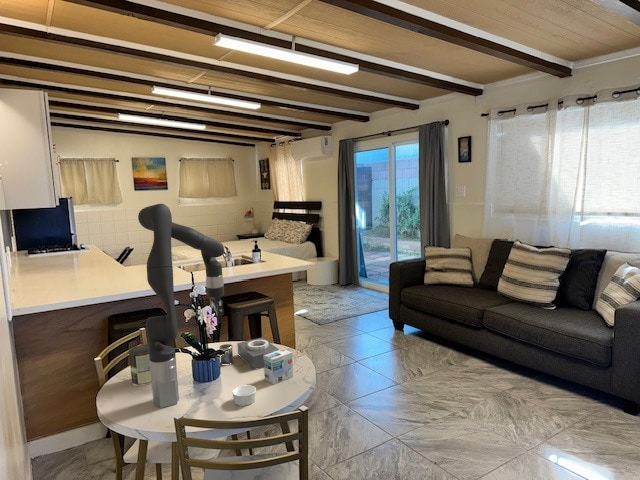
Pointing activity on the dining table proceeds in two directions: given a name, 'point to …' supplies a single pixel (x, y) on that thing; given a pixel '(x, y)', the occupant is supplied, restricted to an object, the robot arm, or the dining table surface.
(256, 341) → the camera body
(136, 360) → the coffee can
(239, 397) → the ramekin
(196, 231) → the robot arm
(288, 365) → the light bulb box
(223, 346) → the lens
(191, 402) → the dining table surface
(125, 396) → the dining table surface
